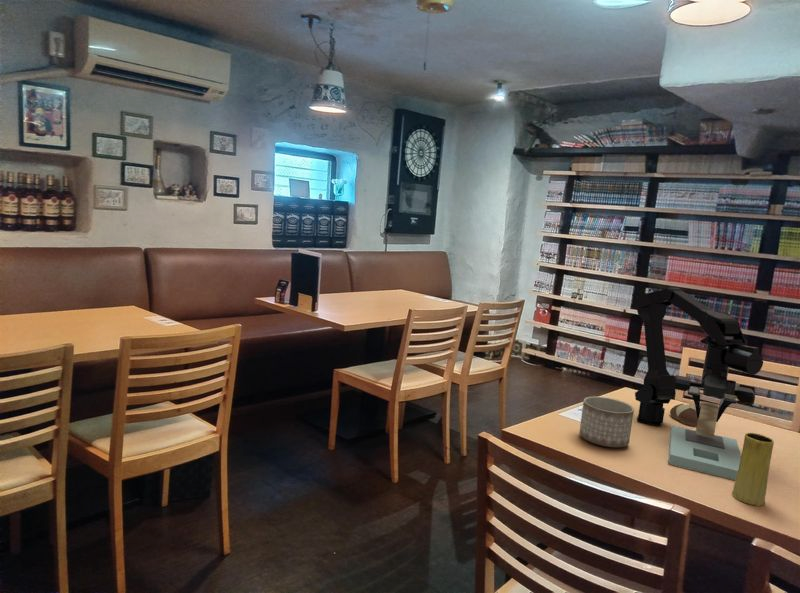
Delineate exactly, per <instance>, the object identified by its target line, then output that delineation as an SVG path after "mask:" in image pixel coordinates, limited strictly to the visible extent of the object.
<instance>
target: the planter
mask: <svg viewBox="0 0 800 593" xmlns="http://www.w3.org/2000/svg"><path fill="white" fill-rule="evenodd" d="M634 412H635V408H634V406H632V405H631V404H630V403H628V402H625V401H622V400H620V399H616V398H611V397H605V396H595V395H594V396H587V397H585V398H584V399H583V402H582V410H581V418H580V424H579V426H580V427H579V430H578V431H579V435H580V436H581V437H582V439H584V440H585V441H587V442H590V443H593V444H595V445H599V446H602V447H607V448H624V447H627V446H628V445H630V441H631V440H630V439H631V431H632V427H633V426H632V425H633V419H634Z"/></svg>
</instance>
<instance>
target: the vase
mask: <svg viewBox="0 0 800 593" xmlns="http://www.w3.org/2000/svg"><path fill="white" fill-rule="evenodd" d="M773 449H774V440H773V438H771V437H769V436H766V435H764V434H761V433H755V432H746V433H745V434H744V440H743V445H742V450H741V459H740V464H739V469H738V472H737V476H736V481H735V480H734V481H735V482H734V486H733V490H732V492H731V493H732V496H733V497H734V498H735V499H736V500H738V501H740V502H742V503H744V504H747V505H751V506H757V507H759V506H763V505H766V504H765V503H766V494H767V488H768V481H769V480H768V479H769V472H770V468H771V467H770V465H771V459H772V456H773V455H772V454H773Z"/></svg>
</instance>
